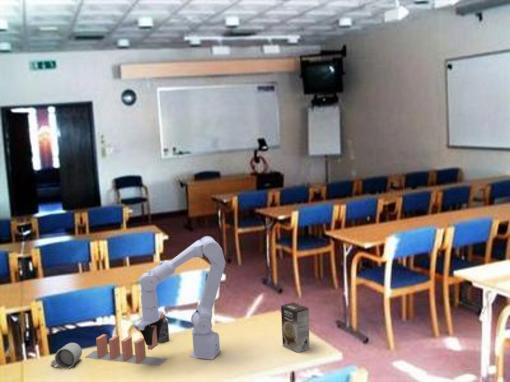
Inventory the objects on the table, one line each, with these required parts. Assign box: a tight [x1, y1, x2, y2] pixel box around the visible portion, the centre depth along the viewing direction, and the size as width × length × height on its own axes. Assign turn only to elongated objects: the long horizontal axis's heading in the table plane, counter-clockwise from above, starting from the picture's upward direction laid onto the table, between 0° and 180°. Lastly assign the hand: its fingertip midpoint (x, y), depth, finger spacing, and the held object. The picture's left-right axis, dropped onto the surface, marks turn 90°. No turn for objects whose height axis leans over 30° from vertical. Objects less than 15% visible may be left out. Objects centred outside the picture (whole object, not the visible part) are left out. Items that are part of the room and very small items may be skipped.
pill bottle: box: [157, 312, 170, 344], centre depth 231 cm, size 6×6×11 cm
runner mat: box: [84, 350, 168, 367], centre depth 216 cm, size 32×6×1 cm, turn 70°
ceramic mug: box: [50, 342, 83, 369], centre depth 213 cm, size 11×8×8 cm
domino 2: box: [108, 335, 121, 359], centre depth 217 cm, size 2×4×8 cm, turn 160°
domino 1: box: [95, 333, 109, 358], centre depth 219 cm, size 2×4×8 cm, turn 160°
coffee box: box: [280, 301, 311, 353], centre depth 218 cm, size 9×6×16 cm
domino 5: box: [146, 325, 159, 351], centre depth 211 cm, size 2×4×8 cm, turn 160°
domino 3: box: [120, 336, 134, 361], centre depth 215 cm, size 2×4×8 cm, turn 160°
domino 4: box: [133, 337, 147, 362], centre depth 213 cm, size 2×4×8 cm, turn 160°
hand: (152, 342), depth 211 cm, fingers closed on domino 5, 4 cm apart
